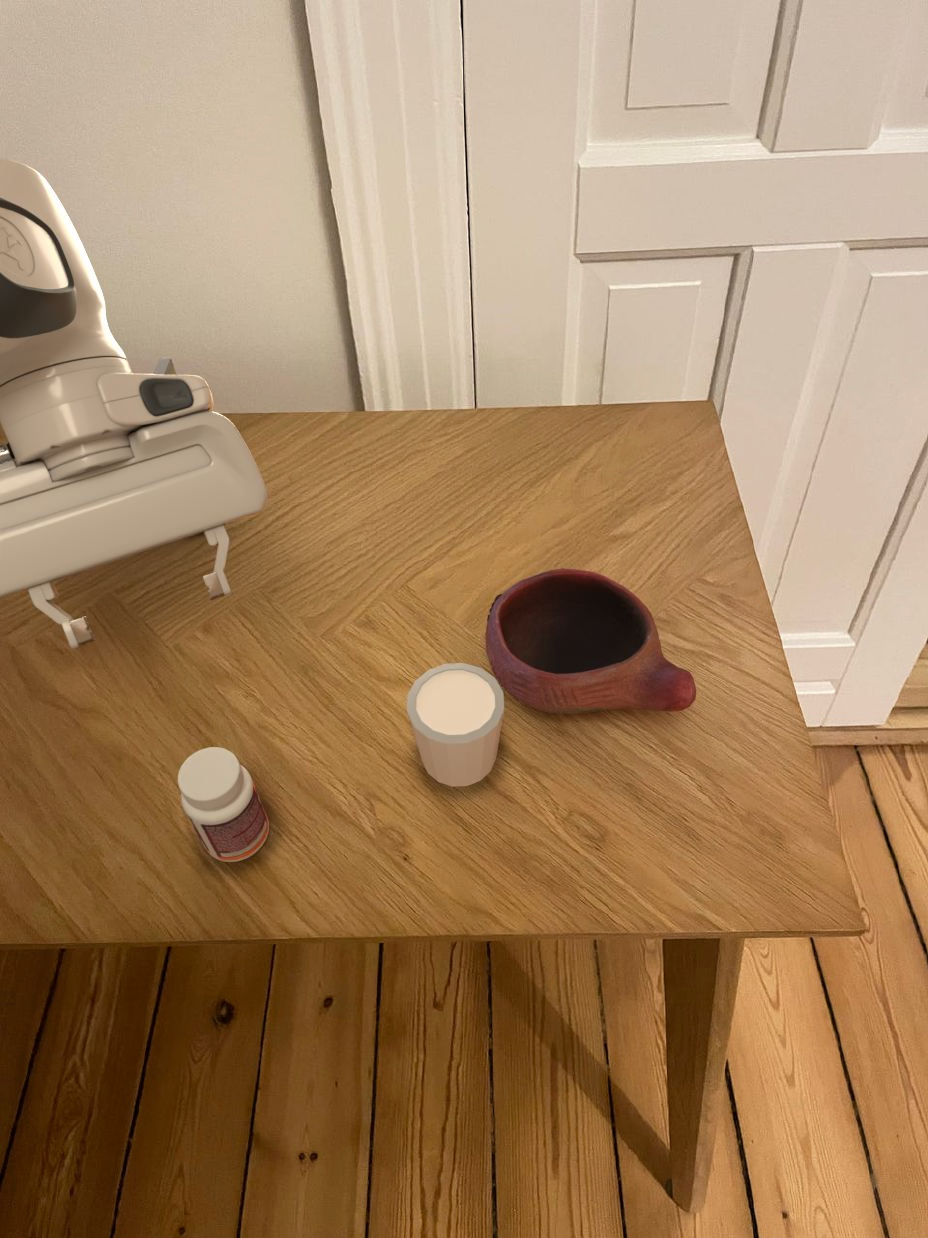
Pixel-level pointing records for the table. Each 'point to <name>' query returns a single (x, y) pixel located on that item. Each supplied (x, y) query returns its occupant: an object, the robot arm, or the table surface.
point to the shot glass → (456, 722)
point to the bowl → (581, 647)
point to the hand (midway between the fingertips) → (154, 620)
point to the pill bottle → (222, 804)
